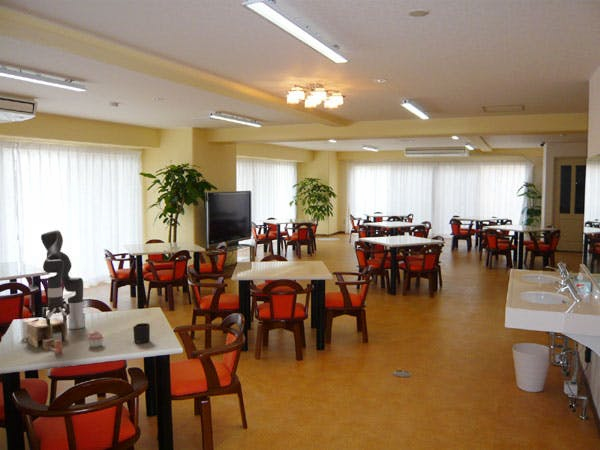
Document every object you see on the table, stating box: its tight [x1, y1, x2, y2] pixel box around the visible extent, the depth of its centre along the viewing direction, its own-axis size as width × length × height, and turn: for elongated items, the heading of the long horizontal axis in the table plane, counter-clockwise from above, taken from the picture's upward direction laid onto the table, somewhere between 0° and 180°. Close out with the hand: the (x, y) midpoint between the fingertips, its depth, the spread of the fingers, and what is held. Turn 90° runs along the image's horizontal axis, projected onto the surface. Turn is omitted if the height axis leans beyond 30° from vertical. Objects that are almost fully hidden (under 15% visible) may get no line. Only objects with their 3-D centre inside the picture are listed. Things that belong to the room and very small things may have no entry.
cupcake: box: [86, 329, 105, 349], centre depth 307 cm, size 9×9×10 cm
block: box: [52, 331, 63, 341], centre depth 319 cm, size 5×5×5 cm
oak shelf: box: [27, 316, 68, 348], centre depth 316 cm, size 18×14×12 cm
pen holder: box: [132, 322, 151, 345], centre depth 315 cm, size 9×9×10 cm
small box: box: [21, 318, 40, 339], centre depth 328 cm, size 8×6×10 cm
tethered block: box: [42, 338, 63, 355], centre depth 300 cm, size 5×18×7 cm, turn 45°
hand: (56, 323), depth 295 cm, fingers open, 8 cm apart
